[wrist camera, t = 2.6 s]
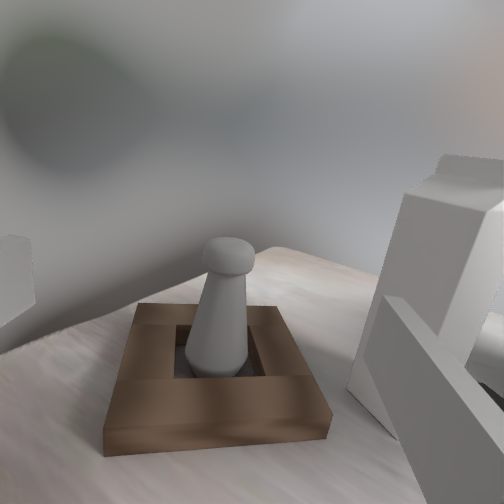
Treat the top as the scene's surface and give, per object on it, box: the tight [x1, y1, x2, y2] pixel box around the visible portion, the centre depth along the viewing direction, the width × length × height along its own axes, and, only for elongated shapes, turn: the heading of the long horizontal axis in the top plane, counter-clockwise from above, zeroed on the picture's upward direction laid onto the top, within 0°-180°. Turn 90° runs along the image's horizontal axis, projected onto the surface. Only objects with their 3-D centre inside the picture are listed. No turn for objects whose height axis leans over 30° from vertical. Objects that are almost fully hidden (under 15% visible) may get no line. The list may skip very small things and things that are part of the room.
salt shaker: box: [185, 237, 255, 378], centre depth 28 cm, size 6×6×13 cm
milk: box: [347, 154, 504, 440], centre depth 25 cm, size 6×6×22 cm
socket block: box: [103, 303, 333, 457], centre depth 30 cm, size 16×16×2 cm
